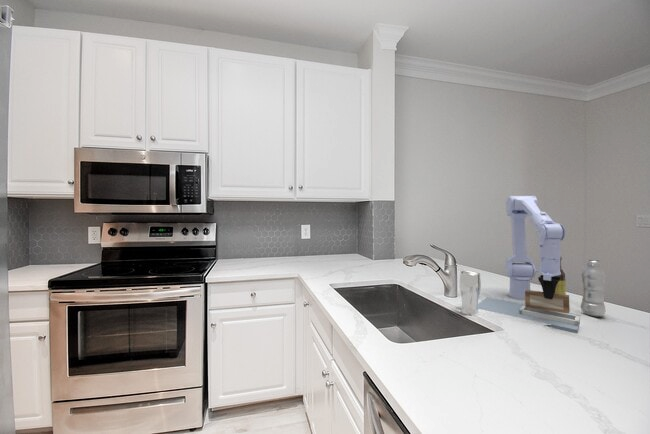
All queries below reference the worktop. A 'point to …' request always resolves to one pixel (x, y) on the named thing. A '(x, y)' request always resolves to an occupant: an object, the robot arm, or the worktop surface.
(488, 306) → the wall board
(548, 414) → the worktop surface
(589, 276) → the plastic bottle
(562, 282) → the brown medicine bottle
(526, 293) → the wooden block
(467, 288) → the beer glass
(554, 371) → the worktop surface
